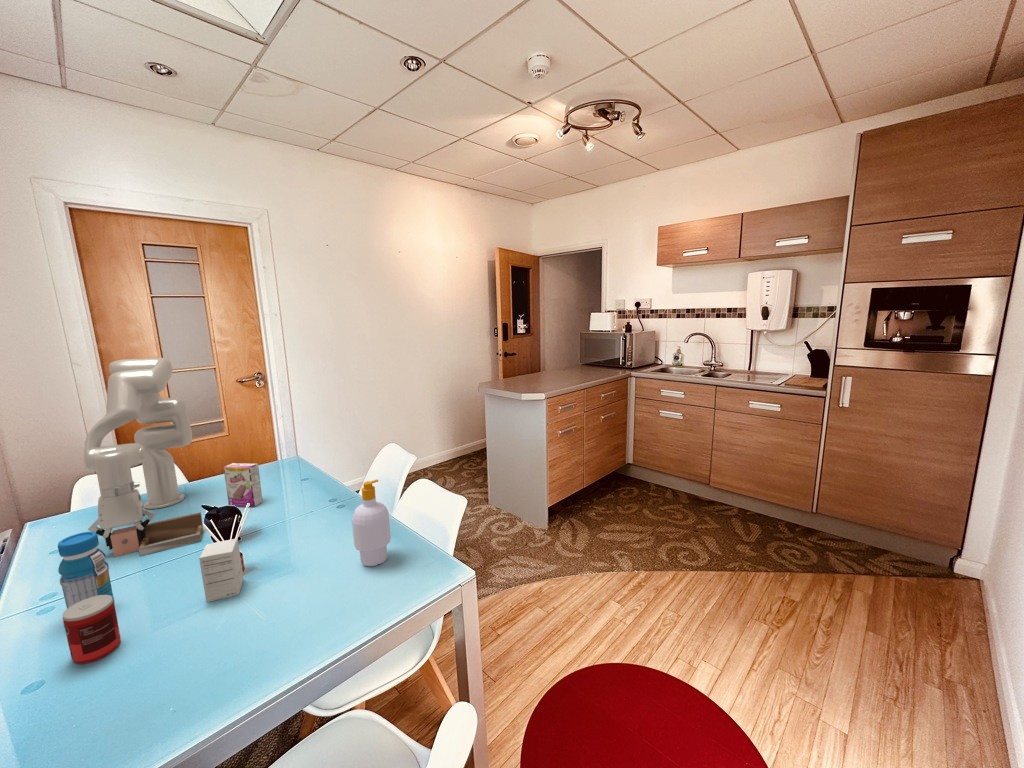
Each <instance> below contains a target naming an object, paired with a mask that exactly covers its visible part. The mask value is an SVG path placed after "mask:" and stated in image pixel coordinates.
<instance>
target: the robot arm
mask: <svg viewBox="0 0 1024 768" xmlns="http://www.w3.org/2000/svg"><path fill="white" fill-rule="evenodd" d="M108 370H109V373H110V375H109V376H108V380H107V391H106V392H107V396H106V413H105V415H104V416H103V417H102V418H101V419H100V420H99V421H97V422H96V423H95V424H94V425H93V426H92V427H91V429H90V430H89V431H88V434H87V435H86V437H85V441H84V450H83V461H84V465H85V468H86V469H87V470H89V471H93V472H96V477H97V482H98V487H99V492H100V496H99V497H98V500H97V519H96V520H95V521H94V522H93V523H92V524H91V525H89V527H88V529H87V530H88V532H96V533H97V535H98V536H100V537H102V538H103V539H105V545H106V547H109V548H108V549H109V550H113V547H112V542H111V537H110V535H111V534H112V531H113V529H115V528H120V527H124V526H128V525H129V526H130V525H132V524H134V526H136V527H137V528H138V531H137V535H138V540H139V542H142V541H143V539H144V538H145V537H146V535H145V529H144V527H145V526H146V525H147V524H149V523H151V521H152V520H153V519H154V518H155V517H156V515H157V514H156V512H153V511H151V510H156V509H162V508H166V507H170V506H173V505H176V504H178V503H180V502H182V501H183V500H185V494H183V493H181V492H179V484H178V479H177V472H176V468H175V467H176V466H175V460H174V457H173V455H172V454H171V453H169V452H168V451H167V449H175V448H182V447H186V446H188V445H189V446H190V445H191V443H192V441H193V431H192V427H191V426H192V425H191V421H190V417H189V410H188V407H187V404H186V402H185V400H184V399H182V398H180V397H161V395H160V394H161V393H160V392H162V391H164V390H165V388H166V386H167V385H168V383H169V381H170V379H171V377H172V375H173V366H172V363H171V361H170V360H169V359H168V358H165V357H148V358H146V357H145V358H125V359H119V360H114V361H112V362H110V364H109V365H108ZM135 420H136V422H137V423H138V424H141V425H150V426H145V427H142V428H140V429H138V430H137V431H135V433H134V440H133V441H134V443H123V444H115V445H114V444H113V445H105V446H102V442H103V441H104V438H105V437H106V436H107V435H109V433H111V432H113V431H114V430H115V429H118V428H119V427H122V426H124V425H127V424H128V423H130V422H133V421H135ZM163 423H170V424H163ZM152 424H158V425H152ZM159 424H160V425H159ZM151 425H152V426H151ZM140 465H142V473H143V477H144V482H145V483H144V484H145V488H146V493H147V499H148V500H146V502H143V500H142V495H141V493H140V491H139V489H137V488H139V487H140V485H141V484H140V482H135V481H134V480H133V474H132V470H131V468H135V467H137V466H140ZM143 503H144V504H143ZM148 509H149V510H148ZM145 516H146V517H147V518H146V519H145V520H144V521H143V518H144V517H145Z"/></svg>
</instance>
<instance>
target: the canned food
mask: <svg viewBox="0 0 1024 768" xmlns="http://www.w3.org/2000/svg"><path fill="white" fill-rule="evenodd" d="M114 601H115V600H114ZM114 601H113V598H112V596H110V595H98V596H94V597H90V598H87V599H84V600H82V601H80V602H78V603H76V604H74V605H72V606H70V607H69V608H68V609H67V608H66V609H65V610H64V611H63V613H62V622H63V625H64V626H63V627H64V631H65V634H66V635H65V636H66V639H67V644H68V647H69V648H68V649H69V653H70V657H71V660H72V661H73V662H74V663H75V664H77V665H78V664H79V665H81V664H83V665H85V664H91V663H93V662H96V661H98V660H100V659H103V658H105V657H106V656H108V655H110V654H111V653H113V652H114V651H116V649H117V648H118V647H119V646H120V644H121V639H122V637H121V633H120V627H119V622H118V617H117V611H116V606H115V603H114Z"/></svg>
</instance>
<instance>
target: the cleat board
mask: <svg viewBox="0 0 1024 768" xmlns="http://www.w3.org/2000/svg"><path fill="white" fill-rule="evenodd" d="M202 518H203V517H202V512H195V513H191V514H186V515H183V516H177V517H172V518H169V519H163V520H158V521H154V522H149V523H148V524H147V525H146V526H145V527H144V529H145V535H146V537H145V538H144V539H143V541H142V543H141V545H140V547H139V551H138V552H139V557H142V556H143V557H144V556H146V555H151V554H156V553H159V552H164V551H168V550H171V549H176V548H180V547H184V546H188V545H191V544H195V543H196V544H197V543H200V542H201V541H202V537H203V533H204V524H203V519H202Z"/></svg>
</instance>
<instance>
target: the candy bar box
mask: <svg viewBox="0 0 1024 768" xmlns="http://www.w3.org/2000/svg"><path fill="white" fill-rule="evenodd" d="M223 472H224V474H223V475H224V480H225V481H224V482H225V486H226V494H227V499H228V500H227V502H228V506H229V505H235V506H238V507H239V508H241V507H243V508H245V506H246V505H247V503H250V507H249V508H255V507H257V506H259V505H261V504H262V503H263V502H264V500H263V493H262V487H261V485H262V484H261V477H260V476H261V475H260V468H259V464H258V463H250V462H249V463H248V462H247V463H243V462H241V463H239V462H232V463H229V464H227V465H225V466H224V467H223ZM260 503H261V504H260Z"/></svg>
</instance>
